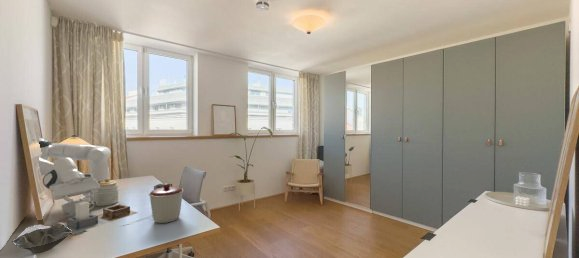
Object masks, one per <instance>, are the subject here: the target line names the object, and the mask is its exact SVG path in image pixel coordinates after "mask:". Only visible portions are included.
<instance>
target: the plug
mask: <svg viewBox="0 0 579 258" xmlns="http://www.w3.org/2000/svg"><path fill="white" fill-rule="evenodd" d="M89 203H90V202H86V201H82V202H78V203H75V214H76V220H77V221H80V220H83V219H87V218H89V213H90V210H89V209H90V206H89Z"/></svg>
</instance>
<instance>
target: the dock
mask: <svg viewBox="0 0 579 258" xmlns="http://www.w3.org/2000/svg"><path fill="white" fill-rule="evenodd" d="M104 224H108V222H106V221H104V220H101V219H99V217H98V216H96V215H95V214H92V213H90V212H89V218H87V219H83V220H80V221H77V220H76V216H75V217H68V218H66V224H63V225H64V226H66V227H68V228H69V229H71V230H72V236H76V235H75V234H77V235H79V234H78V233H80V234H83V233H85V232H87V231H88V230H89V229H92V228H95V227H99V226H102V225H104Z"/></svg>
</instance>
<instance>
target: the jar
mask: <svg viewBox="0 0 579 258" xmlns="http://www.w3.org/2000/svg"><path fill="white" fill-rule="evenodd" d="M99 185H100V188H99V190H98V191H96V202H95V205H96V206H99V207H105V206H111V205H114V204H115V205H116V204H117V203H118V202H119V198H120V197H119V189H118V187H119V184H118V181H115V180H113V179H110V180H109V178H106V179H105V181H102V182H100V183H99Z"/></svg>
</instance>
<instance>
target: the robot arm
mask: <svg viewBox="0 0 579 258" xmlns="http://www.w3.org/2000/svg"><path fill="white" fill-rule="evenodd" d="M38 138H39V144H40V148H41V152H42V158H41V157H39V160H38V162H39V167H40V172H41V175H40V176H43V178H42V183H43V186H44V187H45V188H46V189H48V190H49V191H51V194H52V195H51V196H52V199H54V200H55V201H57V200H62V199H63V200H64V201H66V202H67V203H69V204H71V203H73V202H74V201H75V200H74V199H73V198H72V197H76V196H81V195H83V196H81V197H79V200H85V201H89V203H91V202H94V203H96V191H98V190H99V188H100V185H99V183H100V182H102V181H105V179H106V178H109V180H111V178H110V167H109V158H110V156H111V155H112V150H111V149H110V148H109V147H107V146H101V145H88V144H75V143H65V142H64V143H63V142H56V143H54V142H53V143H52V142H51V141H49V140H48V139H46V138H43V137H38ZM49 158H53V159H55V160H54V161H53V162H51V161H50V160H48V159H49ZM75 161H88V165H89V170H90V173H82V172H81V171H79V169H78V168H79V167H78V165H77V164H76V162H75Z"/></svg>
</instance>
